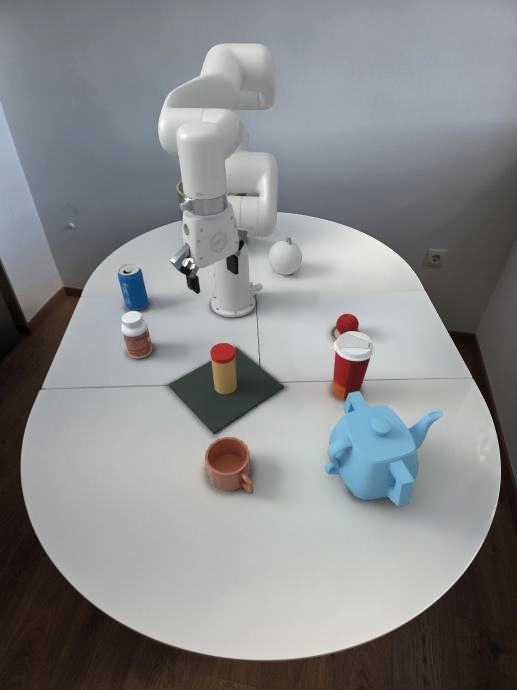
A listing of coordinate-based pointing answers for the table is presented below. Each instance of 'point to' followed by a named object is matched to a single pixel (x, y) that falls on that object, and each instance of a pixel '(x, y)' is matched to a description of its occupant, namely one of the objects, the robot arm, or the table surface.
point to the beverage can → (132, 286)
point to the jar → (224, 368)
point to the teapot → (376, 450)
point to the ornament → (285, 257)
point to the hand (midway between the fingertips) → (214, 280)
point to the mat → (225, 407)
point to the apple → (344, 325)
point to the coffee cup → (350, 362)
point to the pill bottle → (136, 335)
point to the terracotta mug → (229, 464)
